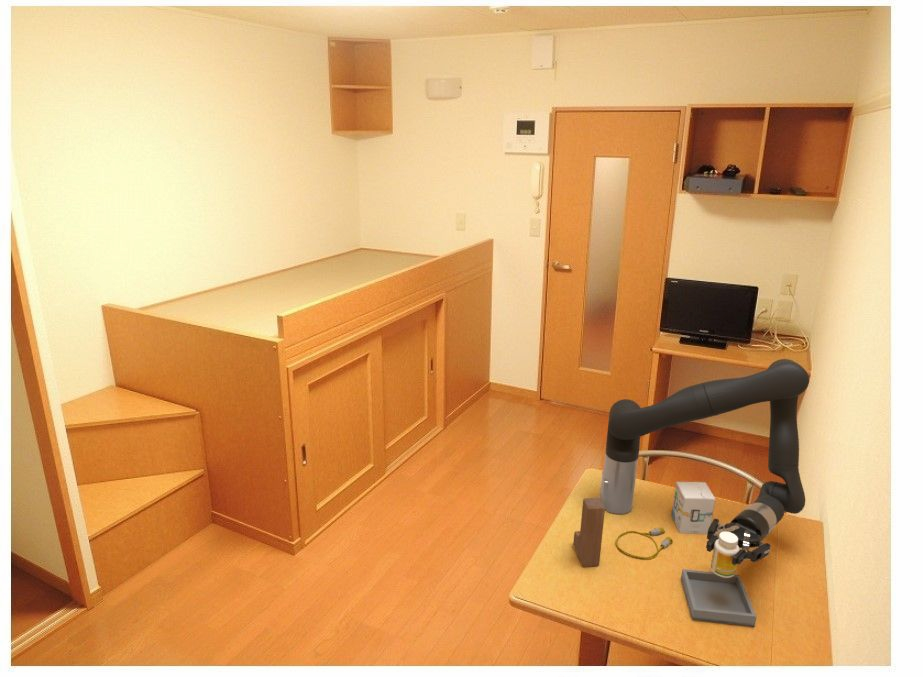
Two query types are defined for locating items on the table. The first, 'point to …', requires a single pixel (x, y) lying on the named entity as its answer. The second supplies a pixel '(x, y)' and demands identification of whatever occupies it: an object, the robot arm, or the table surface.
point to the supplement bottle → (724, 555)
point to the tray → (717, 598)
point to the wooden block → (590, 532)
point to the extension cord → (653, 532)
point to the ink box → (693, 507)
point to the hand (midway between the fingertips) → (721, 554)
